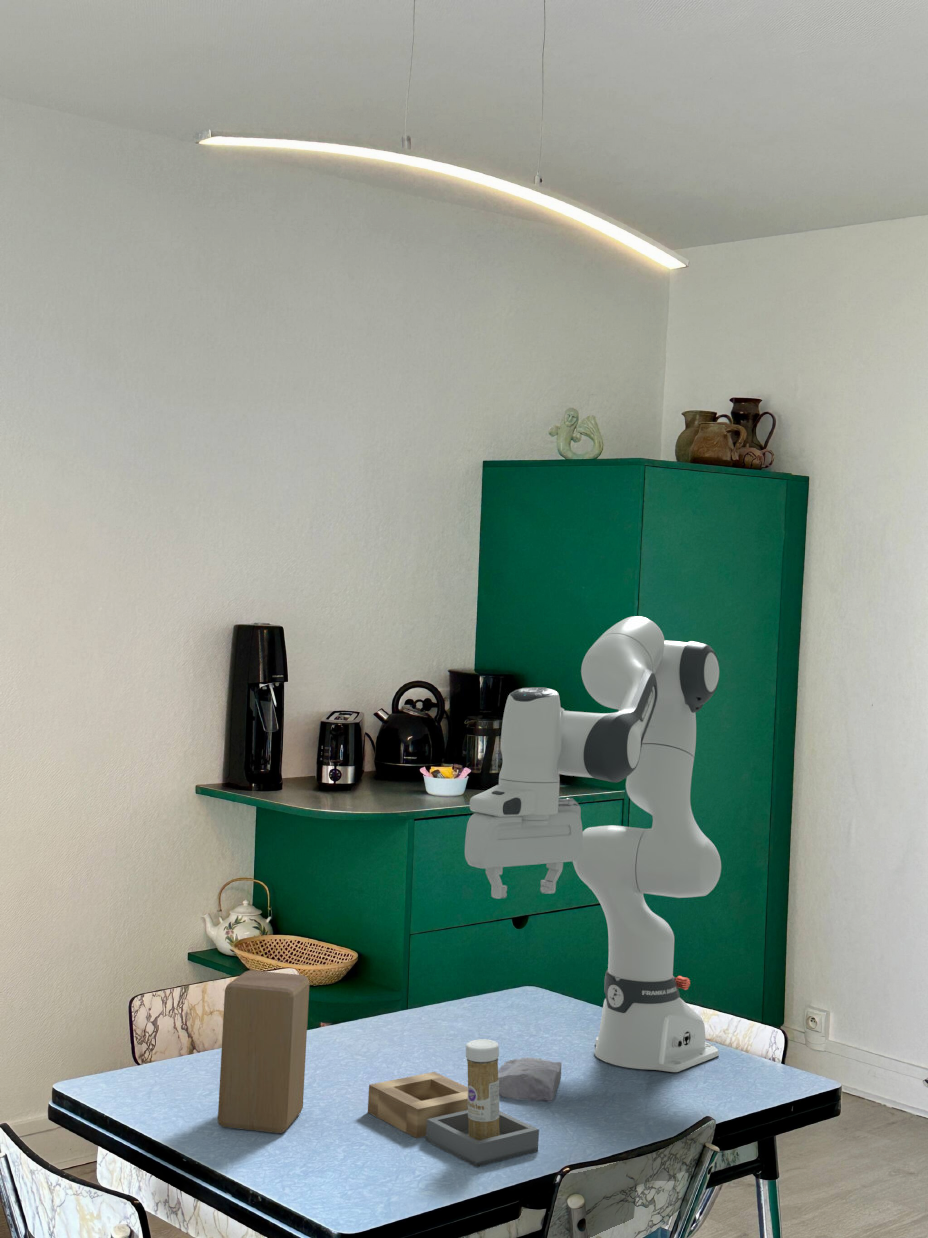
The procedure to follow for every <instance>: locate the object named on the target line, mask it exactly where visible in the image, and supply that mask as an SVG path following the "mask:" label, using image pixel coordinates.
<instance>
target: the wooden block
mask: <svg viewBox="0 0 928 1238" xmlns="http://www.w3.org/2000/svg"><path fill="white" fill-rule="evenodd" d="M224 988H225V989H224V997H223V998H224V1000H223V1018H222V1036H221V1053H220V1055H221V1056H220V1068H219V1069H220V1072H219V1087H218V1088H219V1089H218V1090H219V1092H218V1105H217V1106H218V1109H217V1110H218V1111H217V1122H218V1125H219V1127H220V1126H221V1127H223V1128H228V1127H229V1129H237V1128H238V1129H239V1130H246V1129H247V1131H255V1130H256V1132H264V1133H265V1132H266V1133H274V1134H275V1133H276V1134H282V1133H284V1132H286V1130H287V1129H288V1128H289V1127H290V1126H291V1125H292V1123H293V1122H294V1121H295V1120H296V1118H298V1116H299V1115H300V1114H301V1112H302V1111H303V1108H304V1107H303V1106H304V1091H305V1074H306V1073H305V1071H306V1053H307V1038H308V1037H307V1034H308V1021H309V1020H308V1018H309V1017H308V1015H309V999H310V997H309V996H310V995H309V994H310V980H309V977H308V976H306V975H304V974H295V973H287V972H286V973H285V972H284V973H283V972H276V971H275V972H273V971H263V970H262V971H261V970H252V969H250V970H247V971H244V972H243V973H242V974H241V975H239V976H237V977H236V978H235V979H233V980H231V982H229V983H227V984H226V986H225V987H224Z"/></svg>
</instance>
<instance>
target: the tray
mask: <svg viewBox="0 0 928 1238" xmlns="http://www.w3.org/2000/svg"><path fill="white" fill-rule="evenodd" d="M499 1134H500V1135H499V1136H495V1137H491V1138H487V1139H483V1140H479V1141H478V1140H476V1139H474V1138H472V1137H470V1136H468V1135H469V1121H468V1110H466V1111H461V1112H457V1113H452V1114H448V1115H443V1116H439V1117H434V1118H430V1119H427V1129H426V1136H425V1141H426V1142H428V1143H429V1144H431V1145H433V1146H434V1147H437V1148H439V1149H441V1150H442V1151H444V1152H446V1153H448V1154H450V1155H452V1156H453V1157H456V1158H458V1159H460V1160H461V1161H462V1162H465V1163H467V1164H468V1165H470V1166H473V1167H475V1168H479V1167H482V1166H486V1165H490V1164H494V1163H498V1162H503V1161H506V1160H511V1159H513V1158H517V1157H521V1156H525V1155H529V1154H532V1153H533V1154H534V1153H536V1152H539V1141H540V1140H539V1136H540V1128H538V1127H535V1126H533V1125H530V1124H529V1123H526V1122H525V1121H522V1120H521V1119H518V1118H516V1117H515V1116H511V1115H509V1114H507V1113H505V1112H503V1111H501V1110H499Z"/></svg>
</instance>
